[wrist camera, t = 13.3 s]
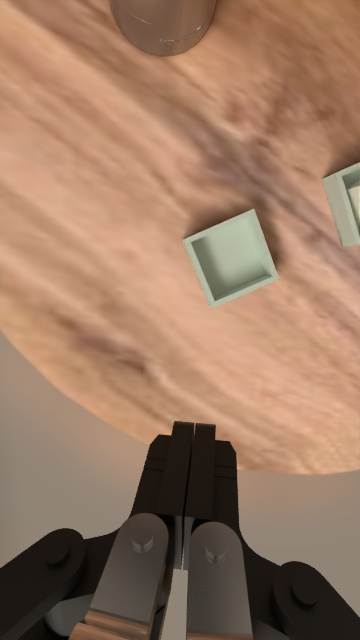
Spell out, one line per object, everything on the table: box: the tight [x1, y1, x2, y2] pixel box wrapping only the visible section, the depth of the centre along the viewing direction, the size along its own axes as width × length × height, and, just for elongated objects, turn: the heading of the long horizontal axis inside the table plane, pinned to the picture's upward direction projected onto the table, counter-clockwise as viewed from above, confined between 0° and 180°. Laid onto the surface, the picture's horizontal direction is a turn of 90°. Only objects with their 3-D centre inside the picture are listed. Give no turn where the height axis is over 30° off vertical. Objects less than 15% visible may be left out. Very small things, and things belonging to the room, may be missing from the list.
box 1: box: [182, 209, 279, 308], centre depth 32 cm, size 7×7×2 cm
